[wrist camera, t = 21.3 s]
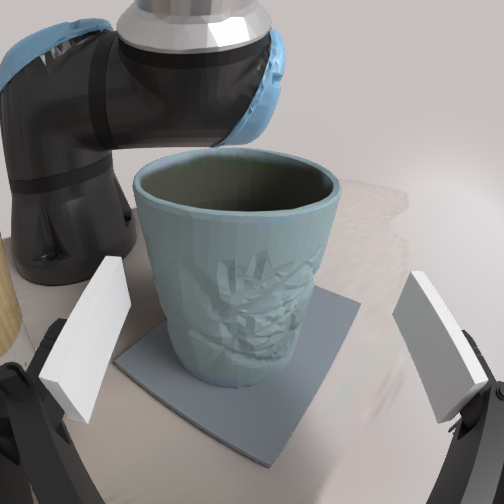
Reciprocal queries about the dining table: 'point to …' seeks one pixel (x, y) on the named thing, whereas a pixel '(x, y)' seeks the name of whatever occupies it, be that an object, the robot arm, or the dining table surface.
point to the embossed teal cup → (235, 254)
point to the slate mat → (247, 398)
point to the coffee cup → (12, 321)
